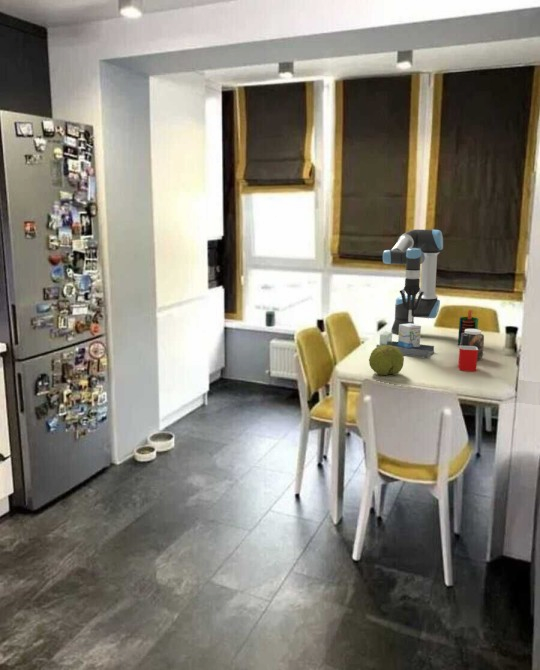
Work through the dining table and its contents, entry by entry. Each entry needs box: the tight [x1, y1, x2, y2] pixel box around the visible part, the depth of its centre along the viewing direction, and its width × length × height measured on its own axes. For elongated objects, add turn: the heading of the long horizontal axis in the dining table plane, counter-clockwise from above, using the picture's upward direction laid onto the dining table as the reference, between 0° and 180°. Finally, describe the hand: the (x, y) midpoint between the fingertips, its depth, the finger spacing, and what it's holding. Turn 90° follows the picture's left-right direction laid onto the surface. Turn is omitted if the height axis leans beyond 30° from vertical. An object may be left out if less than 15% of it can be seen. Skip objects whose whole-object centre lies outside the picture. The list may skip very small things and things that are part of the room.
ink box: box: [397, 323, 422, 348], centre depth 311 cm, size 9×8×12 cm
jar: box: [459, 329, 485, 362], centre depth 300 cm, size 12×12×15 cm
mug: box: [457, 345, 478, 372], centre depth 282 cm, size 12×8×11 cm
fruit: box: [368, 345, 405, 376], centre depth 271 cm, size 16×14×15 cm
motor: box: [457, 309, 479, 346], centre depth 330 cm, size 10×9×20 cm
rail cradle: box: [375, 331, 435, 359], centre depth 314 cm, size 14×28×9 cm, turn 60°
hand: (410, 321), depth 310 cm, fingers closed
